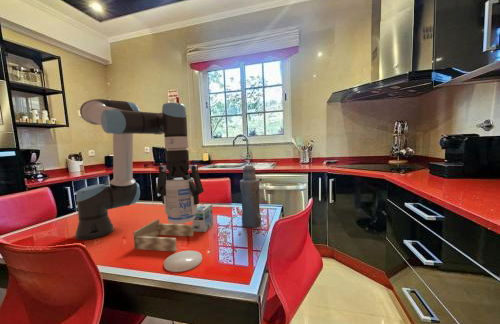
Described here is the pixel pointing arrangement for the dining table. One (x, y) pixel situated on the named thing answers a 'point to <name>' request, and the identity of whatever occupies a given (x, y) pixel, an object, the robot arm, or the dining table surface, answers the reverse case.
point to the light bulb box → (203, 218)
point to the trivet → (182, 261)
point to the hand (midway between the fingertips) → (181, 213)
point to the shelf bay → (149, 241)
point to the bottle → (250, 198)
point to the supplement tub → (179, 201)
